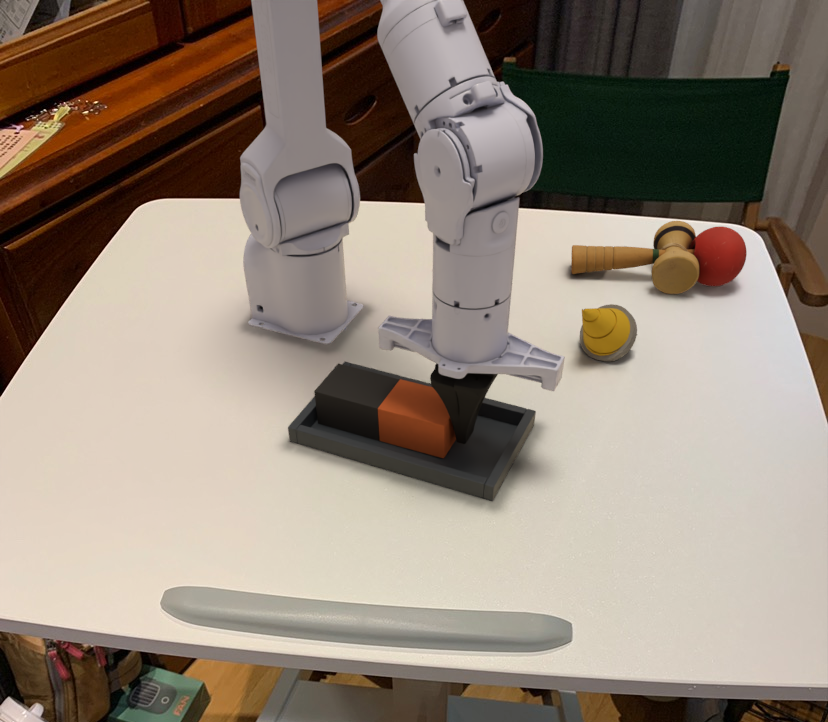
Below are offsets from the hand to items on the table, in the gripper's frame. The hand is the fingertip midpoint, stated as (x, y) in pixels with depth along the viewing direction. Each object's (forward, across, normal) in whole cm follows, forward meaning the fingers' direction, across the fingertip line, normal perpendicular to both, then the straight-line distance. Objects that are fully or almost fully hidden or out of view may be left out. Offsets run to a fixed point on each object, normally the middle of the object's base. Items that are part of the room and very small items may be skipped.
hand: (464, 436), depth 69 cm
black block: (+1, -10, 0) cm, 10 cm away
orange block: (+1, -4, 0) cm, 4 cm away
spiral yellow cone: (+2, +7, +18) cm, 19 cm away
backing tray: (+2, -5, 0) cm, 5 cm away
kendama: (+2, +8, +35) cm, 36 cm away
